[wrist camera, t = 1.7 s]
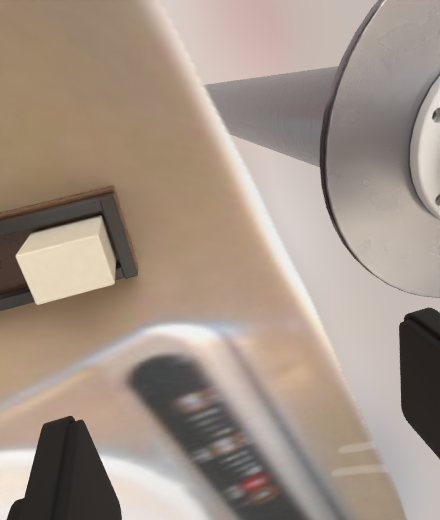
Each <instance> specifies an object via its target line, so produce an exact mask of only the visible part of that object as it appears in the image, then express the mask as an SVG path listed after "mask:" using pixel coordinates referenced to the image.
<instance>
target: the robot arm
mask: <svg viewBox="0 0 440 520" xmlns="http://www.w3.org/2000/svg"><path fill="white" fill-rule="evenodd" d="M410 168H411V175H412V181H413V184H414V186H415V189H416V192H417V194H418V196H419V198H420V199H421V201H422V203H423V204H424V206H425V207H426V208H427V209H428V210H429V211H430V212H431V213H432V214H433V215H434V216H435V217H437V218H439V219H440V76H439V77H438V79H437V80H436V82H435V83H434V84H433V86H432V87H431V89H430V90H429V92H428V94H427V96H426V98H425V100H424V102H423V104H422V106H421V108H420V111H419V113H418V116H417V119H416V122H415V125H414V129H413V134H412V139H411V144H410ZM399 337H400V375H401V407H402V411H403V414H404V417H405V418H406V420H407V421H408V423H409V424H410V425H411V426H412V427H413V429H414V430H415V431H416V432H417V433H418V434H419V435H420V437H421V438H422V439H423V440H424V441H425V442H426V444H427V445H428V446H429V447H430V448H431V449H432V450H433V452H434V453H435V454H436V455H437V456H438V457H439V459H440V313H439V312H438V311H436V310H435V309H432V308H425V309H422V310H419V311H415V312H412V313H409V314H407V315H405V317H404V322H402V323H400V325H399ZM7 520H122V515H121V508H120V504H119V501H118V498H117V496H116V494H115V491H114V489H113V487H112V484H111V482H110V480H109V477H108V475H107V473H106V471H105V468H104V466H103V464H102V461H101V459H100V457H99V455H98V452H97V450H96V448H95V445H94V443H93V441H92V438H91V436H90V434H89V432H88V429H87V427H86V425H85V423H84V421H83V420H78V421H75V419H74V418H73V417H72V416H68V417H65V418H61V419H58V420H55V421H51V422H48V423H45V424H44V425H43V427H42V429H41V433H40V437H39V441H38V445H37V449H36V453H35V457H34V461H33V465H32V469H31V473H30V477H29V481H28V485H27V489H26V493H25V497H24V498H23V499H19V500H17V501H15V502H14V504H13V505H12V506H11V509H10V511H9V514H8V518H7Z"/></svg>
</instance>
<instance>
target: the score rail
mask: <svg viewBox="0 0 440 520" xmlns="http://www.w3.org/2000/svg"><path fill="white" fill-rule="evenodd" d="M99 215H102V216H103V219H104V222H105V225H106V228H107V231H108V234H109V237H110V240H111V243H112V247H113V250H114V253H115V256H116V269H115V280H118V279H122V278H125V279H127V278H130V277H134V276H137V275H138V263H137V260H136V257H135V253H134V250H133V247H132V244H131V240H130V237H129V234H128V230H127V227H126V224H125V221H124V217H123V214H122V211H121V208H120V204H119V201H118V198H117V195H116V191H115V188H114V186H109V187H105V188H101V189H97V190H93V191H89V192H85V193H80V194H76V195H72V196H68V197H64V198H60V199H56V200H52V201H47V202H43V203H39V204H35V205H31V206H27V207H23V208H18V209H14V210H10V211H6V212H2V213H0V311H2V310H6V309H10V308H14V307H17V306H21V305H25V304H29V303H32V302H35V300H34V298H33V296H32V294H31V291H30V289H29V287H28V284H27V282H26V280H25V277H24V275H23V273H22V270H21V268H20V266H19V264H18V261H17V259H16V254H17V253H18V251H19V250H20V248H21V247H22V246H23V244H24V243H25V241H26V240H27V238H28V237H29V235H30V234H31V233H32V232H34V231H38V230H42V229H46V228H50V227H54V226H58V225H62V224H66V223H70V222H74V221H78V220H82V219H86V218H91V217H95V216H99Z"/></svg>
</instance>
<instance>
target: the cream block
mask: <svg viewBox="0 0 440 520" xmlns="http://www.w3.org/2000/svg"><path fill="white" fill-rule="evenodd" d="M16 259H17V261H18V264H19V266H20V268H21V270H22V273H23V275H24V277H25V280H26V282H27V284H28V287H29V289H30V291H31V294H32V296H33V298H34V300H35V303H36V304H37V305H40V304H44V303H47V302H51V301H55V300H58V299H62V298H66V297H70V296H73V295H77V294H81V293H84V292H88V291H92V290H96V289H99V288H103V287H107V286H110V285H114V284H115V269H116V256H115V253H114V250H113V247H112V243H111V240H110V237H109V234H108V231H107V228H106V225H105V222H104V219H103V216H102V215H99V216H95V217H91V218H86V219H82V220H78V221H74V222H70V223H66V224H62V225H58V226H54V227H50V228H46V229H42V230H38V231H34V232H32V233H31V234H30V235H29V237H28V238H27V240H26V241H25V243H24V244H23V246H22V247H21V248H20V250H19V251H18V253H17V254H16Z"/></svg>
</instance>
